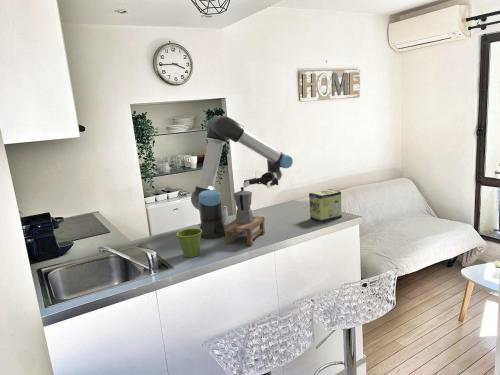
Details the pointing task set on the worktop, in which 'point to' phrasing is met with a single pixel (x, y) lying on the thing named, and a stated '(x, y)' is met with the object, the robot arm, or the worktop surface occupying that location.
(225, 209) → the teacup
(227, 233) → the stool
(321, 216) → the protein box
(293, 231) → the worktop surface
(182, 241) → the plant pot
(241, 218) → the coffeepot
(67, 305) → the worktop surface
